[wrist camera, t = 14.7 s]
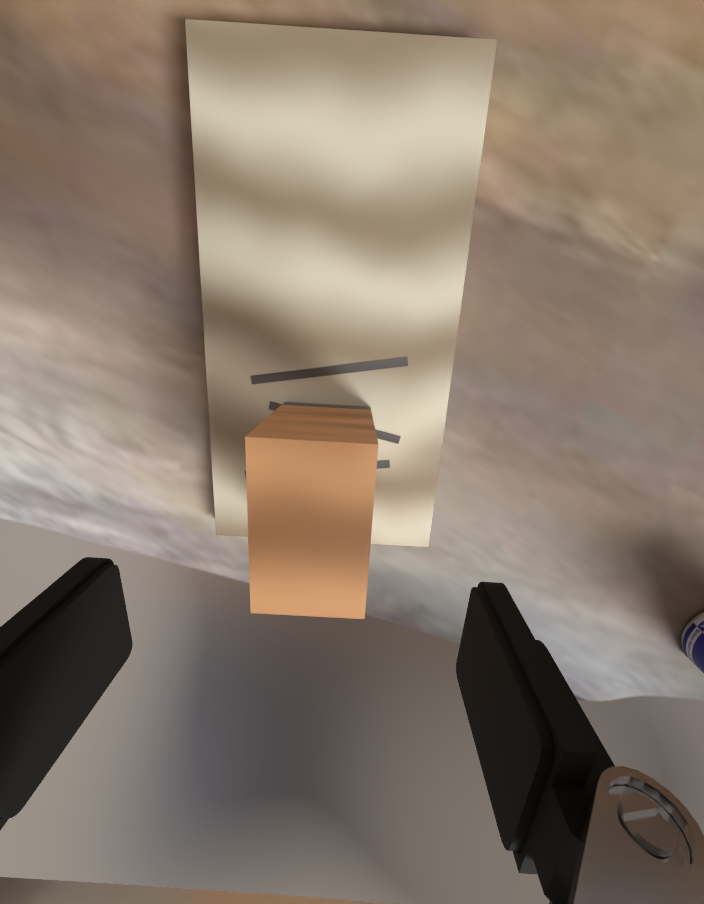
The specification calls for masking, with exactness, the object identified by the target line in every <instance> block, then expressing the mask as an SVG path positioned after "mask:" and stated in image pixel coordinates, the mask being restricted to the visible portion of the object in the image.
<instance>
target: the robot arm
mask: <svg viewBox="0 0 704 904" xmlns="http://www.w3.org/2000/svg"><path fill="white" fill-rule="evenodd" d="M131 650H132V638H131V632H130V627H129V621H128V616H127V611H126V605H125V600H124V594H123V589H122V583H121V579H120V572H119V568H118V566H117V565H114V564H113V561H112V560H111V559H107V558H91V557H87V558H83V559H82V560H80V561H79V562H78V563H77V564H76V565H74V566H73V567H72V568H71V569H70V570H68V571H67V572H66V573H65V574H63V575H62V576H61V577H60V578H59V579H58V580H57V581H55V582H54V583H53V584H52V585H51V586H49V587H48V588H47V589H46V590H44V591H43V592H42V593H41V594H40V595H38V596H37V597H36V598H35V599H34V600H32V601H31V602H30V603H29V604H28V605H26V606H25V607H24V608H23V609H22V610H20V611H19V612H18V613H17V614H16V615H14V616H13V617H12V618H11V619H10V620H8V621H7V622H6V623H5V624H4V625H3V626H1V627H0V830H1V829H2V827H3V826H4V825H5V823H6V822H7V820H8V819H9V818H12V817H14V816H15V815H16V814H17V813H19V812H20V811H21V809H22V808H23V807H24V806H25V804H26V803H27V801H28V800H29V798H30V797H31V796H32V794H33V793H34V791H35V790H36V788H37V787H38V786H39V784H40V783H41V781H42V780H43V779H44V777H45V776H46V774H47V773H48V771H49V770H50V769H51V767H52V766H53V764H54V763H55V761H56V760H57V759H58V757H59V756H60V754H61V753H62V752H63V750H64V749H65V747H66V746H67V744H68V743H69V742H70V740H71V739H72V737H73V736H74V734H75V733H76V732H77V730H78V729H79V727H80V726H81V724H82V723H83V722H84V720H85V719H86V717H87V716H88V714H89V713H90V712H91V710H92V709H93V707H94V706H95V704H96V703H97V701H98V700H99V699H100V697H101V696H102V694H103V693H104V692H105V690H106V689H107V687H108V686H109V684H110V683H111V682H112V680H113V679H114V677H115V676H116V674H117V673H118V672H119V670H120V669H121V667H122V666H123V665H124V663H125V662H126V660H127V659H128V657H129V655H130V653H131ZM456 673H457V679H458V683H459V687H460V690H461V694H462V697H463V701H464V705H465V708H466V712H467V716H468V720H469V723H470V727H471V730H472V734H473V738H474V741H475V745H476V748H477V753H478V756H479V760H480V764H481V767H482V771H483V774H484V778H485V781H486V786H487V789H488V793H489V796H490V800H491V804H492V808H493V811H494V814H495V818H496V822H497V826H498V830H499V833H500V837H501V840H502V843H503V845H504V847H505V849H506V850H509V851H513V854H514V857H515V861H516V864H517V868H518V871H519V873H527V874H538V876H539V880H540V882H541V886H542V889H543V892H544V895H546V897H547V898H548V899H549V900H550V901H549V904H704V835H703V833H702V831H701V829H700V828H699V825H698V824H697V822H696V821H695V820H694V818H693V817H692V815H691V814H690V813H689V811H688V810H687V809H686V807H685V806H684V805H683V804H682V803H681V802H680V801H679V800H678V799H677V798H676V797H675V796H674V795H673V794H672V793H671V792H670V791H669V790H667V789H666V788H665V787H664V786H662V785H661V784H660V783H658V782H656V781H655V780H654V779H653V778H651V777H649V776H647V775H645V774H643V773H641V772H639V771H638V770H634V769H631V768H627V767H624V766H618V767H615V766H614V764H613V762H612V760H611V759H610V757H609V755H608V754H607V752H606V750H605V748H604V747H603V745H602V743H601V741H600V740H599V738H598V736H597V734H596V733H595V731H594V729H593V727H592V726H591V724H590V722H589V720H588V719H587V717H586V715H585V713H584V712H583V710H582V708H581V707H580V705H579V703H578V701H577V700H576V698H575V696H574V694H573V693H572V691H571V689H570V687H569V686H568V684H567V682H566V681H565V679H564V677H563V675H562V674H561V672H560V670H559V668H558V667H557V665H556V663H555V661H554V660H553V658H552V656H551V654H550V653H549V651H548V649H547V648H546V647H545V645H544V644H543V643H542V642H541V641H539V640H535V638H534V637H533V635H532V633H531V631H530V629H529V628H528V626H527V624H526V622H525V620H524V619H523V617H522V615H521V613H520V611H519V610H518V608H517V606H516V604H515V602H514V601H513V599H512V597H511V595H510V593H509V592H508V590H507V588H506V586H505V585H504V584H503V583H492V582H480V583H479V584H478V587H473V588H472V589H471V593H470V598H469V603H468V608H467V613H466V618H465V623H464V628H463V633H462V638H461V643H460V648H459V653H458V658H457V663H456ZM0 904H400V903H385V902H372V901H358V900H345V899H331V898H317V897H316V898H315V897H303V896H289V895H275V894H260V893H245V892H230V891H215V890H200V889H184V888H170V887H169V888H168V887H154V886H138V885H123V884H108V883H92V882H75V881H58V880H41V879H23V878H5V877H0Z"/></svg>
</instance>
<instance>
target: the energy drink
mask: <svg viewBox="0 0 704 904" xmlns="http://www.w3.org/2000/svg"><path fill="white" fill-rule="evenodd" d="M681 642H682V649H683V652H684V653H685V655H686V656H687V657H688V658H689V659H690V660H691V661H692V662H693V663H694V664H695V665H696V666H697V667H698V668H699V669H700V670H701V671H702V672H703V673H704V612H702V613H700V614H699V615H697V616H696V617H694V618H693V619H692V620H691V621H690V622H689V623H688V624H687V625H686V627H685V629H684V631H683V633H682V639H681Z"/></svg>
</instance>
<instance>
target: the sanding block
mask: <svg viewBox="0 0 704 904" xmlns="http://www.w3.org/2000/svg"><path fill="white" fill-rule="evenodd" d="M245 452H246V483H247V514H248V544H249V575H250V606H251V613H261V614H280V615H299V616H317V617H336V618H356V619H364V618H365V606H366V593H367V581H368V568H369V556H370V544H371V531H372V519H373V506H374V494H375V482H376V469H377V457H378V440H377V435H376V431H375V426H374V421H373V417H372V412H371V408H370V407H366V406H349V405H331V404H314V403H296V402H284V403H283V404H282V405H281V406H280V407H278V408H277V409H276V410H275V411H274V412H273V413H272V414H270V415H269V416H268V417H267V418H266V419H265V420H264V421H263V422H261V423H260V424H259V425H258V426H257V427H256V428H255V429H253V430H252V431H251V432H250V433H249V434H248V435H247V436H245Z"/></svg>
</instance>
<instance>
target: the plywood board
mask: <svg viewBox="0 0 704 904" xmlns="http://www.w3.org/2000/svg"><path fill="white" fill-rule="evenodd" d="M185 27H186V44H187V60H188V77H189V94H190V110H191V127H192V143H193V160H194V177H195V193H196V210H197V226H198V243H199V260H200V276H201V293H202V310H203V326H204V343H205V359H206V376H207V393H208V409H209V426H210V442H211V459H212V476H213V492H214V509H215V526H216V535H224V536H242V537H248V514H247V483H246V452H245V436H247V435H248V434H249V433H250V432H251V431H252V430H253V429H255V428H256V427H257V426H258V425H259V424H260V423H261V422H263V421H264V420H265V419H266V418H267V417H268V416H269V415H270V414H272V413H273V412H274V411H275V410H276V409H277V408H278V407H280V406H281V405H282V404H283V403H284V402H296V403H314V404H331V405H349V406H366V407H370V408H371V412H372V417H373V421H374V426H375V431H376V435H377V440H378V457H377V469H376V482H375V494H374V506H373V519H372V531H371V544H385V545H403V546H421V547H428V545H429V538H430V530H431V523H432V515H433V508H434V501H435V493H436V486H437V479H438V471H439V464H440V457H441V449H442V442H443V434H444V427H445V420H446V412H447V405H448V398H449V390H450V383H451V376H452V368H453V361H454V353H455V346H456V339H457V331H458V324H459V317H460V309H461V302H462V295H463V287H464V280H465V272H466V265H467V258H468V250H469V243H470V236H471V228H472V221H473V214H474V206H475V199H476V191H477V184H478V177H479V169H480V162H481V155H482V147H483V140H484V133H485V125H486V118H487V110H488V103H489V96H490V88H491V81H492V74H493V66H494V59H495V52H496V44H497V40H494V39H479V38H464V37H449V36H434V35H419V34H404V33H388V32H373V31H358V30H343V29H328V28H313V27H298V26H283V25H268V24H253V23H238V22H223V21H207V20H192V19H185Z"/></svg>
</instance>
